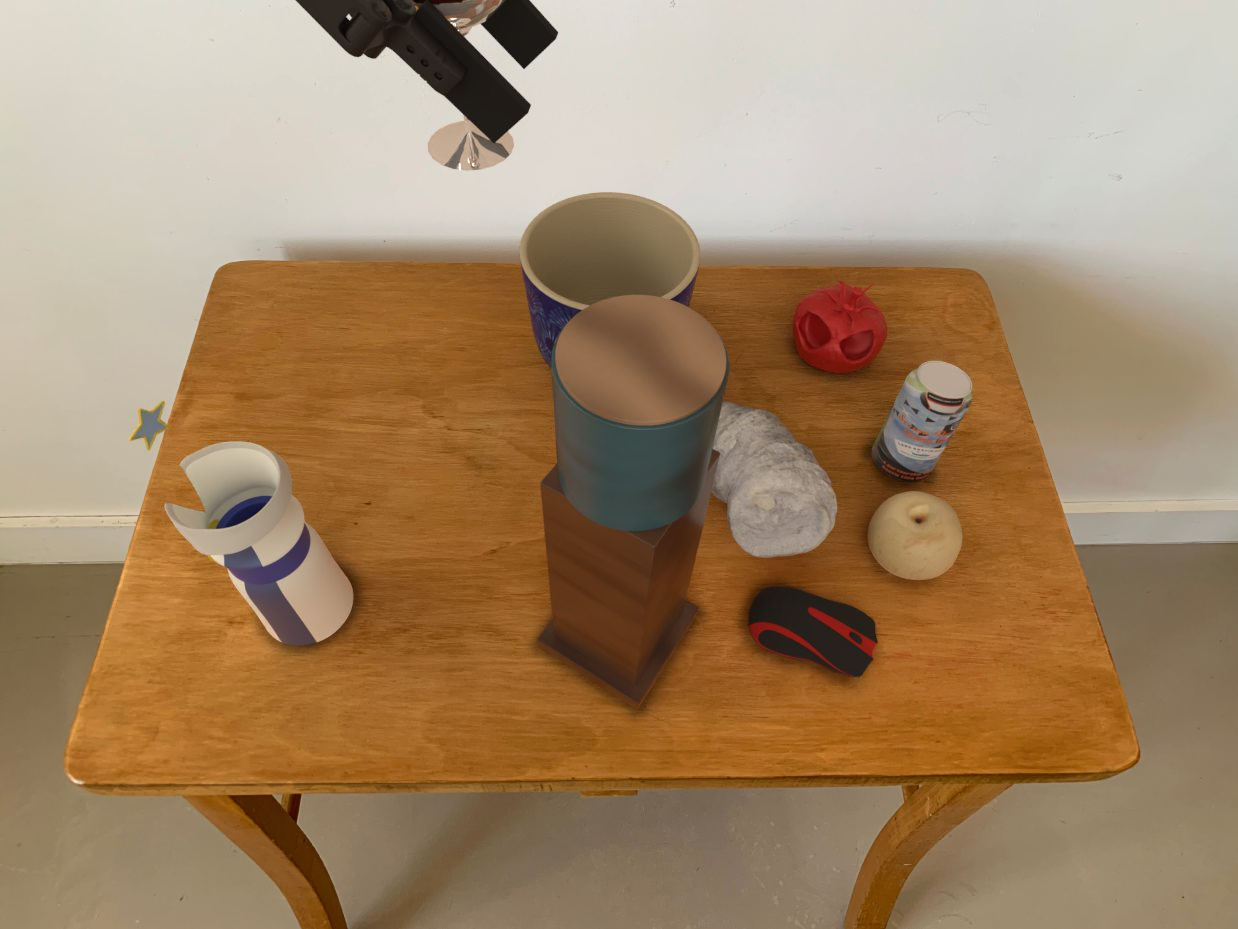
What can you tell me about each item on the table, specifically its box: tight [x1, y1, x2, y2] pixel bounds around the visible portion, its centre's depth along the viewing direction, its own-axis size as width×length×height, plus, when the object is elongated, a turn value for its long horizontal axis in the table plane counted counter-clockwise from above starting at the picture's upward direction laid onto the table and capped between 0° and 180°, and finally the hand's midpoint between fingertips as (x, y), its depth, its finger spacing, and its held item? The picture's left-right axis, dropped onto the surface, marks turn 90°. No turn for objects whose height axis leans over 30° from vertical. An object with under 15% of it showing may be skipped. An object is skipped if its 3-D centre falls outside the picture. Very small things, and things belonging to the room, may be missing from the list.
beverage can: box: [871, 360, 973, 483], centre depth 75 cm, size 6×7×12 cm
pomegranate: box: [791, 276, 888, 374], centre depth 84 cm, size 10×10×9 cm
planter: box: [518, 191, 701, 370], centre depth 80 cm, size 17×17×15 cm
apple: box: [866, 490, 963, 581], centre depth 71 cm, size 8×8×8 cm
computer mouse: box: [747, 585, 879, 678], centre depth 67 cm, size 6×11×4 cm, turn 67°
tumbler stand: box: [536, 295, 730, 711], centre depth 54 cm, size 10×10×35 cm
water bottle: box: [127, 400, 354, 647], centre depth 58 cm, size 8×9×25 cm
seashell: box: [711, 401, 838, 559], centre depth 73 cm, size 16×15×10 cm
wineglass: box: [412, 0, 515, 172], centre depth 41 cm, size 7×7×12 cm
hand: (526, 85), depth 42 cm, fingers closed on wineglass, 7 cm apart
